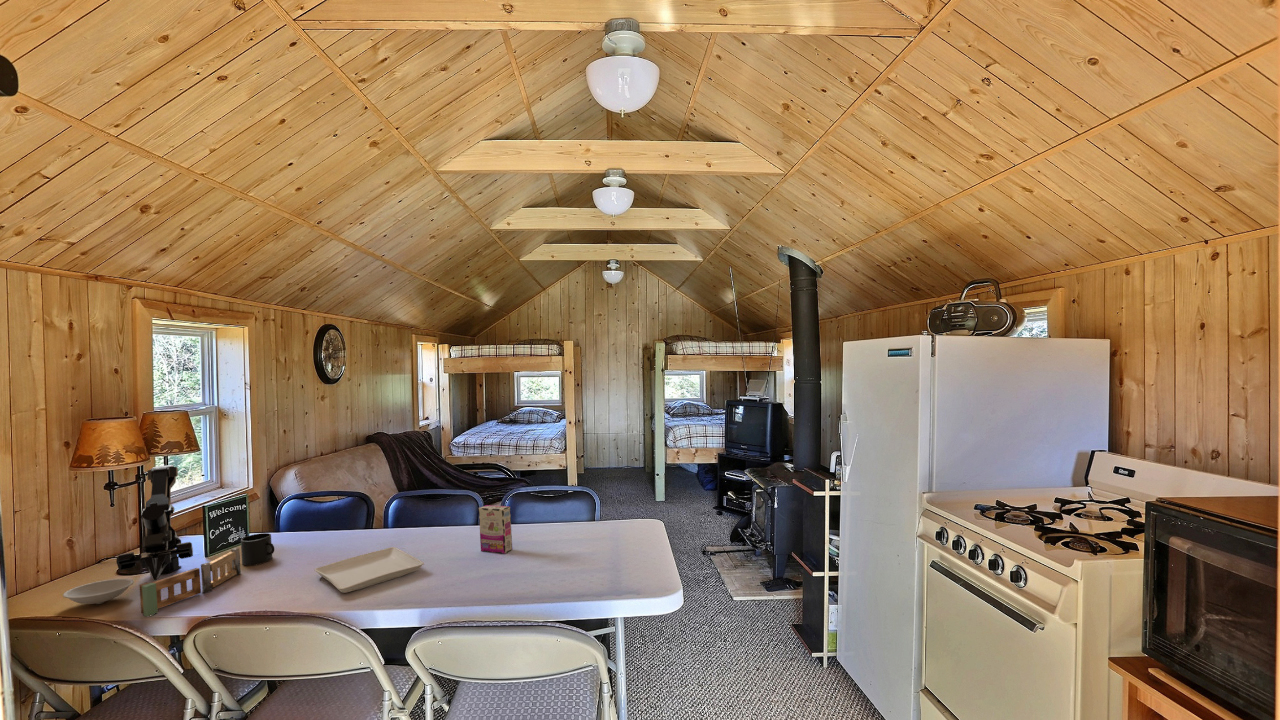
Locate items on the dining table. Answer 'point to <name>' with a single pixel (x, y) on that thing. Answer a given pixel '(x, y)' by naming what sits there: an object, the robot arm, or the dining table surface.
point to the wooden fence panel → (232, 569)
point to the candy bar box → (495, 529)
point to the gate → (170, 583)
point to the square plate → (369, 569)
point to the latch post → (149, 599)
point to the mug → (256, 549)
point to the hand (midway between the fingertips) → (155, 579)
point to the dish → (98, 591)
